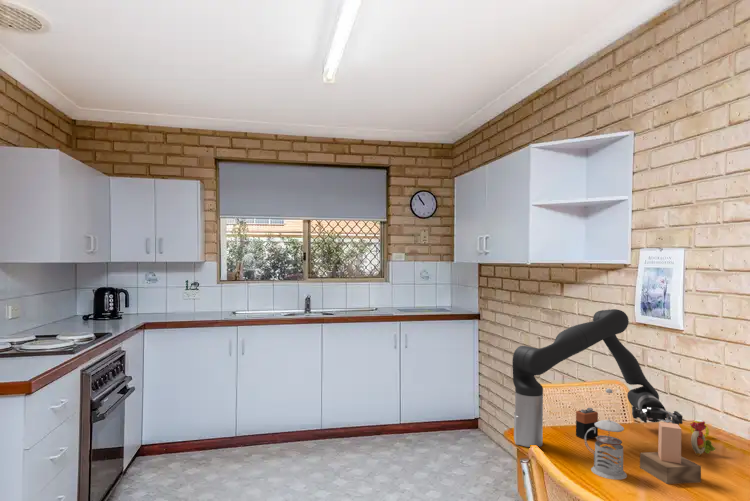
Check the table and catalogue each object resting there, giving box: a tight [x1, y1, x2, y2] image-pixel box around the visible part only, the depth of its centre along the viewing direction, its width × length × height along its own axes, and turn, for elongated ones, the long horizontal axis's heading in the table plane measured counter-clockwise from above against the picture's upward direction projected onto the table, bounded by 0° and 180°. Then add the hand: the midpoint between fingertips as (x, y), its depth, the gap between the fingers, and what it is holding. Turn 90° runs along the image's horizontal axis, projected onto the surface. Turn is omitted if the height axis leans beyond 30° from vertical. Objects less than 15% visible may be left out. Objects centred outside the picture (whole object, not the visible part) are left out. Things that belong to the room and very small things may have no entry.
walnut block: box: [639, 451, 702, 485], centre depth 143 cm, size 11×11×5 cm
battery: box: [575, 407, 599, 440], centre depth 174 cm, size 4×7×10 cm, turn 115°
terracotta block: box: [657, 421, 682, 464], centre depth 143 cm, size 5×5×10 cm
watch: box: [689, 419, 710, 438], centre depth 177 cm, size 6×3×6 cm, turn 25°
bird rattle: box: [690, 421, 716, 456], centre depth 160 cm, size 6×11×9 cm
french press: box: [584, 388, 628, 481], centre depth 144 cm, size 10×12×25 cm
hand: (660, 421), depth 153 cm, fingers open, 8 cm apart
